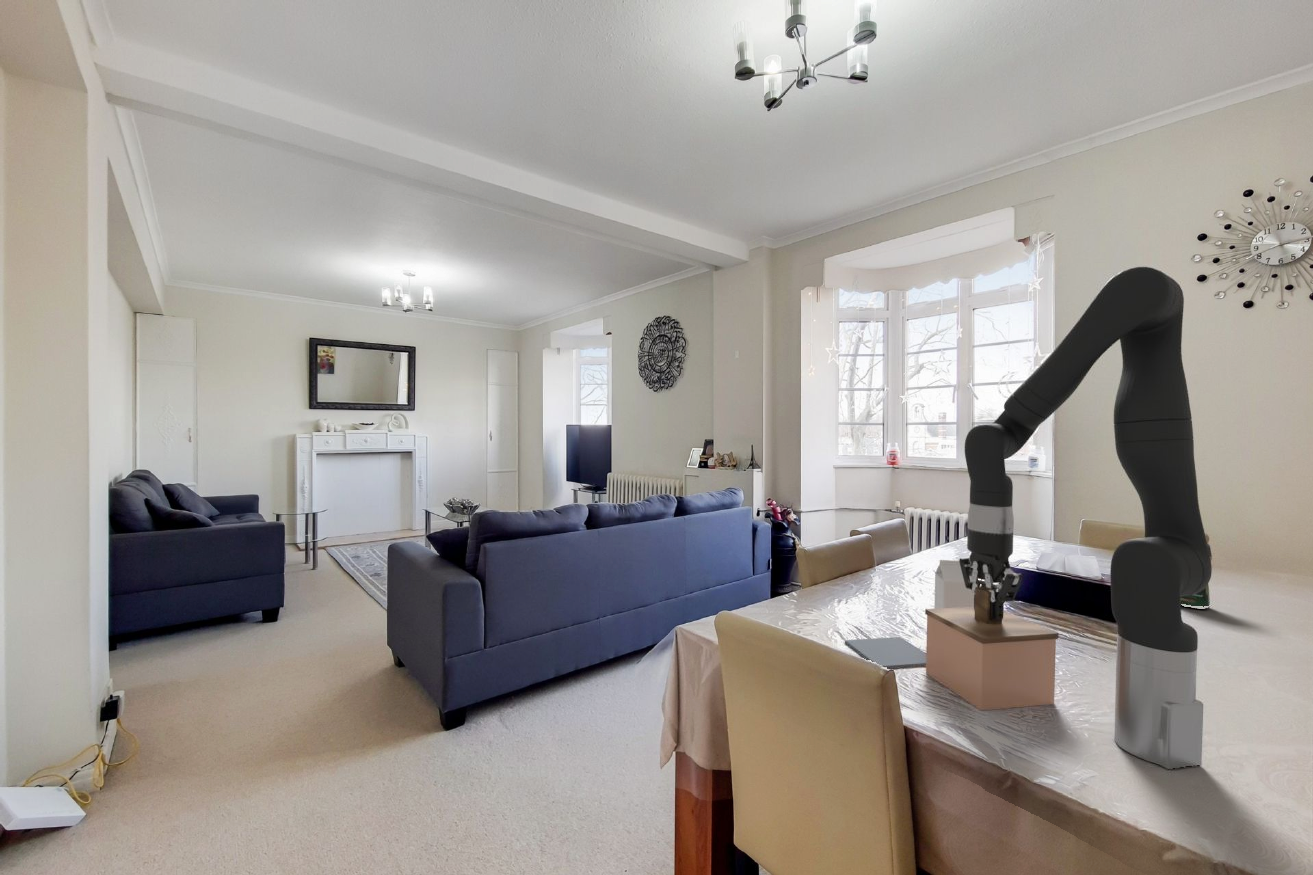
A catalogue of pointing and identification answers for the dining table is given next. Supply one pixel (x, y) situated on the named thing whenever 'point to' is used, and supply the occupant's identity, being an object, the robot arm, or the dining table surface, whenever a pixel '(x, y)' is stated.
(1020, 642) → the tan open box
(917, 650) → the mat
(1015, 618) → the lid
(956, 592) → the milk carton
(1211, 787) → the dining table surface
